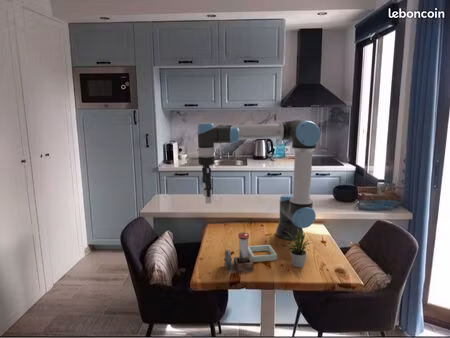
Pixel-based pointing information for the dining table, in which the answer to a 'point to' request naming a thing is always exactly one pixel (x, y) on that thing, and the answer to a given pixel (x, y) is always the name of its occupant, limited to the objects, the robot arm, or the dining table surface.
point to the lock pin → (243, 247)
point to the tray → (262, 257)
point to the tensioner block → (237, 264)
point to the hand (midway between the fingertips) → (207, 199)
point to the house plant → (298, 249)
